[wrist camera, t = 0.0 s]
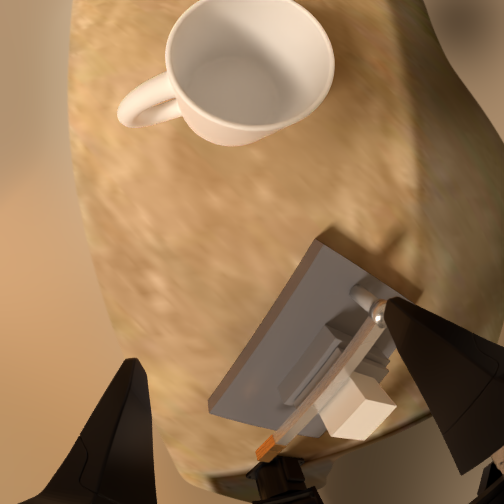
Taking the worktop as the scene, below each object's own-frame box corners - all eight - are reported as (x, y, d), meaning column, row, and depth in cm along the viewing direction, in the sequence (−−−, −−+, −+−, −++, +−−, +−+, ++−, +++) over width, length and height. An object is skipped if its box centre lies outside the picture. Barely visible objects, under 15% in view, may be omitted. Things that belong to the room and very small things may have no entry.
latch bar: (269, 453, 25) (271, 462, 23) (252, 450, 24) (254, 460, 23) (392, 304, 22) (401, 310, 21) (377, 294, 21) (386, 301, 20)
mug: (151, 176, 22) (115, 182, 12) (124, 85, 19) (79, 36, 9) (293, 133, 23) (355, 113, 13) (265, 45, 20) (304, -18, 10)
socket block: (313, 427, 33) (328, 459, 27) (207, 400, 28) (211, 440, 23) (411, 302, 30) (443, 324, 24) (314, 238, 26) (344, 257, 20)
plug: (333, 398, 29) (363, 448, 21) (285, 384, 27) (310, 443, 19) (371, 351, 28) (412, 397, 20) (325, 331, 26) (365, 384, 18)
